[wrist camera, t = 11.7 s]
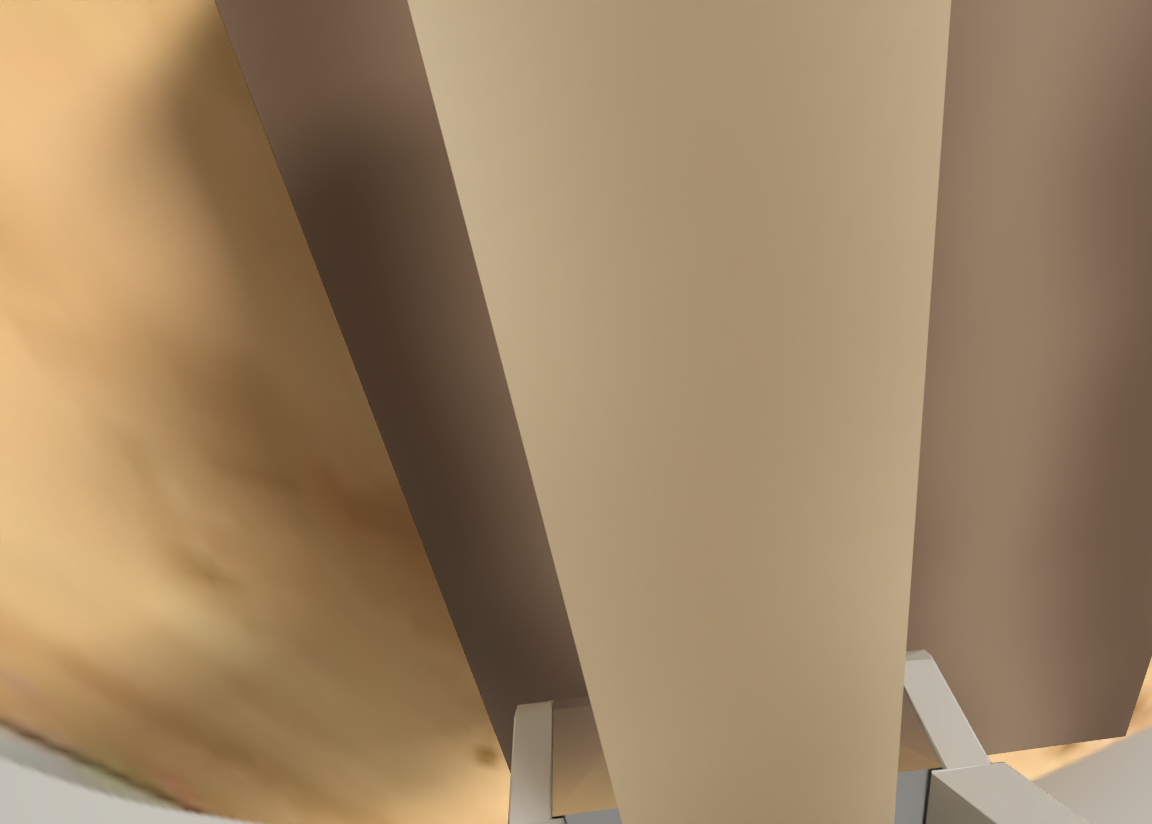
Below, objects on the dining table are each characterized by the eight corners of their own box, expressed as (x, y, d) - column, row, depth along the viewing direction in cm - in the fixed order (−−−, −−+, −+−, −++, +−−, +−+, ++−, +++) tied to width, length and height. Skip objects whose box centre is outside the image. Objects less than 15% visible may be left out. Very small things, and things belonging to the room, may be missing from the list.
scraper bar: (691, 960, 16) (726, 1224, 13) (453, -162, 6) (321, -332, 3) (801, 949, 16) (866, 1213, 13) (741, -226, 6) (987, -497, 3)
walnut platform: (531, 646, 26) (527, 818, 20) (291, -124, 14) (147, -174, 9) (1004, 574, 24) (1125, 736, 19) (1149, -319, 13) (1532, -501, 8)
